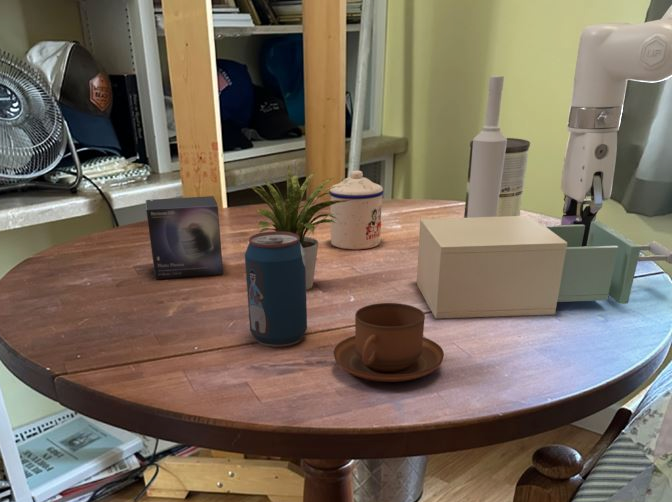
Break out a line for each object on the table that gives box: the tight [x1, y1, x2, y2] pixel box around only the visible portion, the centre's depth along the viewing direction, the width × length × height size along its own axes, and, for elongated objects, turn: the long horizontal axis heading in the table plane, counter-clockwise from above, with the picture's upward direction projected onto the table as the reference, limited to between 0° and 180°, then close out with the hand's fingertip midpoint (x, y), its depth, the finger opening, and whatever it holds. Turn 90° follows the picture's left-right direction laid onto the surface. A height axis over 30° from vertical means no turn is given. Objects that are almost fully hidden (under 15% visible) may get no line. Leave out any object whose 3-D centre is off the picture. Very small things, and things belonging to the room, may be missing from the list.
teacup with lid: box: [328, 170, 384, 250], centre depth 120 cm, size 12×9×12 cm
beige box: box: [415, 215, 567, 320], centre depth 94 cm, size 16×15×9 cm
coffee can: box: [463, 137, 531, 218], centre depth 127 cm, size 10×10×14 cm
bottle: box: [467, 75, 508, 218], centre depth 111 cm, size 5×5×25 cm
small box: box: [145, 195, 224, 280], centre depth 107 cm, size 11×6×10 cm, turn 102°
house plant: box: [246, 165, 351, 291], centre depth 97 cm, size 14×14×16 cm
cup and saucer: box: [333, 302, 445, 383], centre depth 76 cm, size 12×12×6 cm
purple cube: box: [560, 215, 576, 225], centre depth 115 cm, size 4×4×4 cm
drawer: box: [544, 220, 672, 305], centre depth 94 cm, size 22×13×7 cm, turn 93°
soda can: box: [244, 231, 308, 348], centre depth 82 cm, size 7×7×12 cm
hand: (574, 241), depth 116 cm, fingers closed on purple cube, 4 cm apart
